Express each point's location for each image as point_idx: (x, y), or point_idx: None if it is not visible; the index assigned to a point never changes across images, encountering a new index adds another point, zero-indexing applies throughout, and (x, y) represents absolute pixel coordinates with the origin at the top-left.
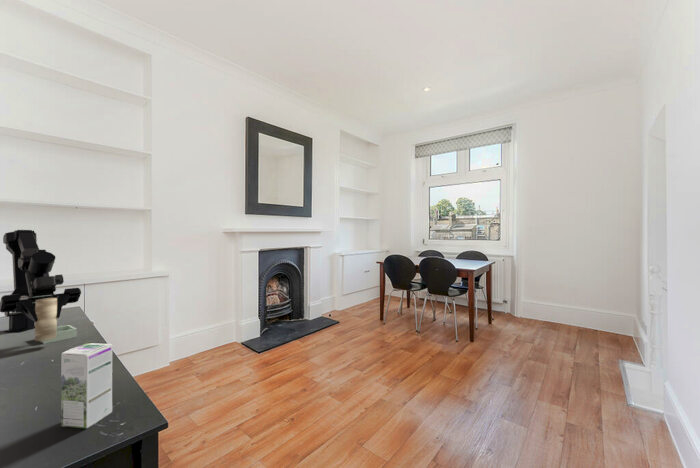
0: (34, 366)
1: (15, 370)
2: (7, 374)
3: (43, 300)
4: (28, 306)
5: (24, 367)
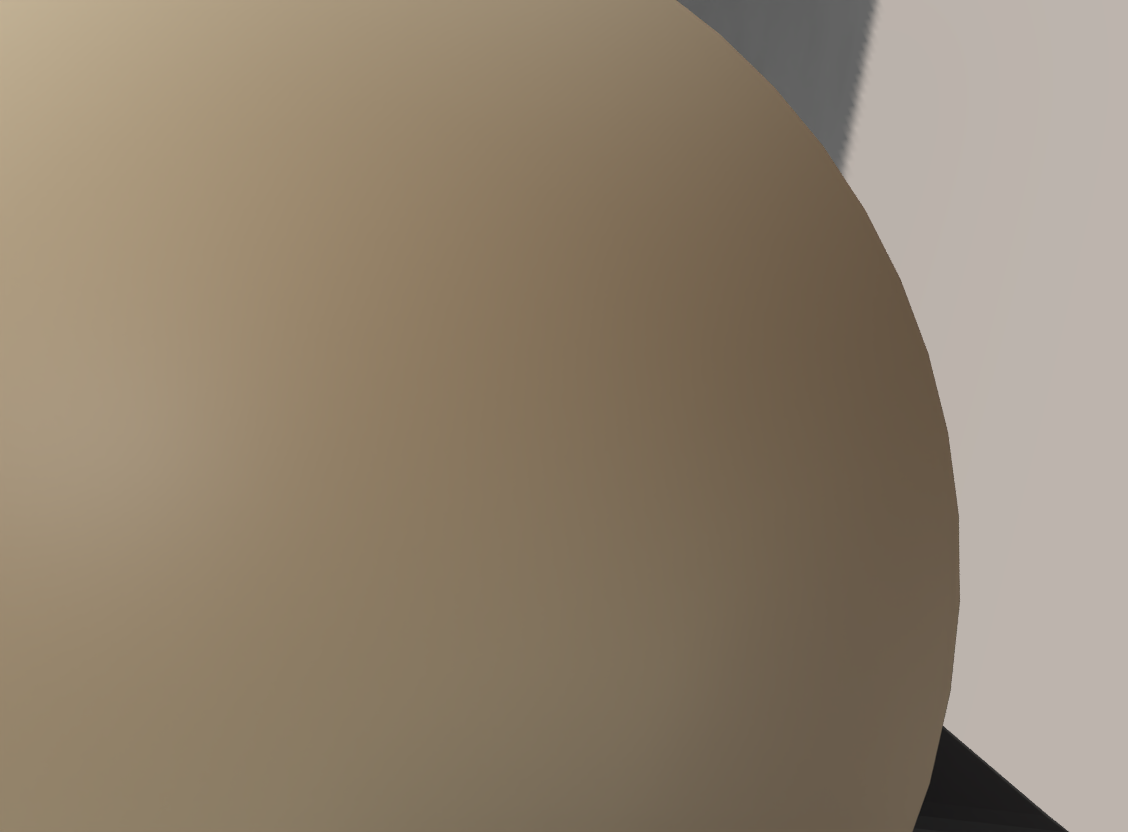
0: (705, 9)
1: (809, 57)
2: (862, 23)
3: (640, 111)
4: (969, 812)
5: (753, 62)
